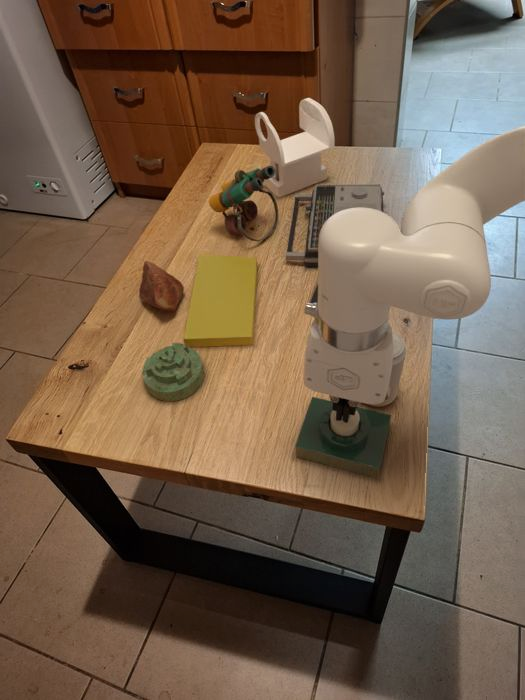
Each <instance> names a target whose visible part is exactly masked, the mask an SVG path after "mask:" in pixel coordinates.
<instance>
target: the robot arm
mask: <svg viewBox="0 0 525 700" xmlns="http://www.w3.org/2000/svg"><path fill="white" fill-rule="evenodd" d="M523 202H525V125H523V126H519V127H517V128H514V129H511V130H507V131H506V132H503V133H501V134H498V135H496V136H494V137H492V138H489V139H487V140H486V141H483V142H482V143H480V144H478V145H477V146H475V147H474V148H472V149H470V150H469V151H468V152H466V153H465V154H464V155H462V156H461V157H459V158H458V159H457V160H455V161H454V162H453V163H451V164H450V165H448V166H447V167H445V169H443V170H442V171H441V172H439V173H438V174H437V175H435V176H434V177H432V179H430V180H429V181H428V182H427V183H425V184H424V185H423V186H422V187H421V188H420V189H419V190H418V191H417V192H416V193H415V194H414V196H413V197H412V198H411V199H410V201H409V202H408V204H407V205H406V207H405V208H404V211H403V213H402V217H401V223H400V227H399V225H398V223H397V222H396V220H394V218H393V217H392V216H390V215H389V214H387V213H385V212H384V213H383V212H381V211H379V210H376V209H372V208H365V207H357V208H349V209H345V210H342V211H340V212H337V213H335V214H334V215H332V216H331V217H330V218H329V219H328V220H327V221H326V222H325V223H324V225H323V227H322V229H321V231H320V234H319V244H318V268H317V284H318V301H317V303H315V302H314V303H310V302H306V304H305V308H304V315H307V316H310V317H311V318H314V320H313V321H312V323H311V324H310V328H309V331H308V334H307V339H306V345H305V352H304V361H303V362H304V364H303V377H302V379H303V384H304V385H305V387H306V388H308V389H309V390H311V391H313V392H315V393H319V394H323V395H328V396H329V401H332V402H333V409H332V410H333V411H336V420H337V421H340V420H342V421H344V422H345V423H348V419H349V416H350V415H355V412H356V407H357V406H359V403H362V404H366V405H368V404H380V403H382V402H384V400H387V399H388V398H389V393H390V387H389V383H390V376H391V372H392V364H393V333H392V331H393V328H392V326H391V324H390V322H389V320H390V313H391V307H393V308H397V309H400V310H403V311H406V312H409V313H412V314H416V315H419V316H423V317H427V318H430V319H437V320H459V319H464V318H467V317H469V316H472V315H473V314H475V313H476V312H478V311H479V310H481V308H482V307H483V306H484V305H485V303H486V302H487V300H488V299H489V296H490V292H491V289H492V276H491V268H490V262H489V255H488V247H487V240H486V235H485V228H484V225H486V224H487V223H489V222H490V221H492V220H493V219H495V218H496V217H498V216H500V215H501V214H503V213H505V212H507V211H508V210H509V209H511V208H513V207H516V206H517V205H518V204H521V203H523ZM342 416H343V419H342Z"/></svg>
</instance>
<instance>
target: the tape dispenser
mask: <svg viewBox="0 0 525 700" xmlns="http://www.w3.org/2000/svg"><path fill="white" fill-rule="evenodd" d="M298 115H299V116H298V118H299V128H300V129H301V130H302V131H303V132H300V133H297V134H295V135H291V136H288V137H286V138H283V139H280V136H279V134H278V132H277V130H276V128H275V127H274V125H273V124H272V123H271V121H270V119H269V117H268V115H267V114H266V113H265V112H263V111H260V112H258V113H256V114H255V116H254V127H255V132H256V134H257V138H258V143H259V150H260V152H262V153H263V154H264V155H266V156H267V157H268V158H269V161H270V166H273V167H274V168H275V175H274V176H273V177H271V178H269V179H267V180H266V179H265V186H266V187H265V188H267V190H269V192H271V193H272V194H274V196H275V197H277V198H278V199H279V198H281V197H284V196H287V195H289V194H292V193H294V192H297V191H299V190H303V189H305V188H307V187H310V186H313V185H316V184H318V183H321V182H323V181H325V180H328V168H327V167H326V166H325V165H324V164H322V154H323V153H325V152H327V151H329V150H333V149H335V143H336V142H335V141H336V140H335V132H334V127H333V123H332V120H331V117H330V115H329V114H328V112H327V110H326V109H325V108H324V106H323V105H322V104H321V103H319V102H317V101H316V100H314V99H313V98H310V97H306V98H303V99H301V100H300V102H299V105H298ZM261 120H262V121H263V123H264V125H265V128H266V132H267V138H266V137H265V136H264V134H263V132H262V131H263V130H262V128H261Z"/></svg>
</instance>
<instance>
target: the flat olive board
mask: <svg viewBox="0 0 525 700" xmlns="http://www.w3.org/2000/svg"><path fill="white" fill-rule="evenodd" d="M197 258H198V259H197V264H196V270H195V275H194V280H193V286H192V291H191V297H190V302H189V307H188V312H187V319H186V323H185V329H184V334H183V342H184V345H186V346H187V347H189V348H204V347H207V348H208V347H234V346H235V347H236V346H253V345H254V339H255V338H254V336H255V320H256V319H255V318H256V303H257V283H258V266H259V265H258V259H257V257H247V256H234V255H222V254H207V253H199V254H198V257H197Z"/></svg>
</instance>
